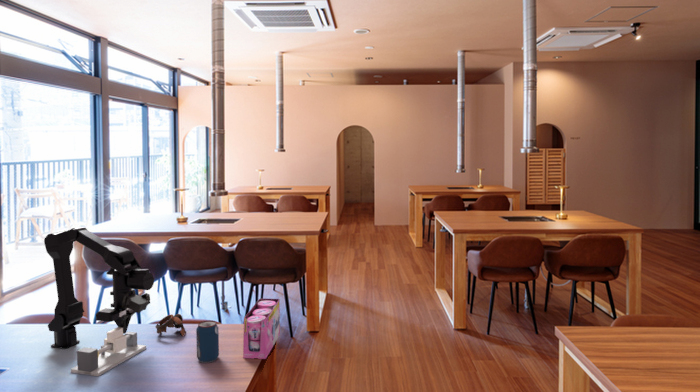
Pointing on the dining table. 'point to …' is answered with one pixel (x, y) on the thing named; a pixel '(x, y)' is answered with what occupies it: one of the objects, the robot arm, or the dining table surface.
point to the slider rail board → (105, 357)
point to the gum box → (261, 328)
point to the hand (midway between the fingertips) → (124, 333)
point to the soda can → (207, 341)
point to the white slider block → (115, 340)
